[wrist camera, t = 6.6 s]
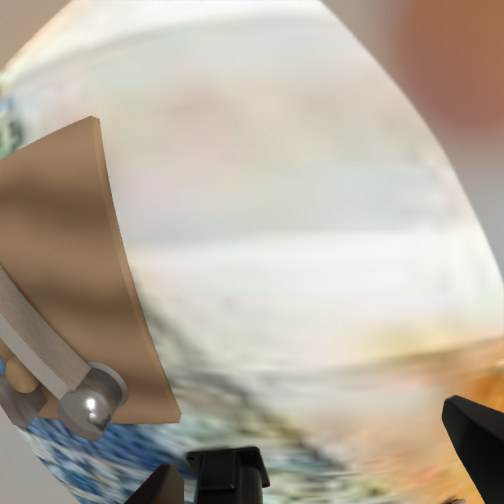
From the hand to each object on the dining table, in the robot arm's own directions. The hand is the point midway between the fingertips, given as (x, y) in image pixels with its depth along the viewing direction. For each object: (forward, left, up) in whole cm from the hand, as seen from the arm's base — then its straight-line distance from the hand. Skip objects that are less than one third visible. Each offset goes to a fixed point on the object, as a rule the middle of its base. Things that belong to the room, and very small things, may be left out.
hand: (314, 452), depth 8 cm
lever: (+2, +18, -10) cm, 21 cm away
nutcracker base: (+3, +17, -12) cm, 21 cm away
